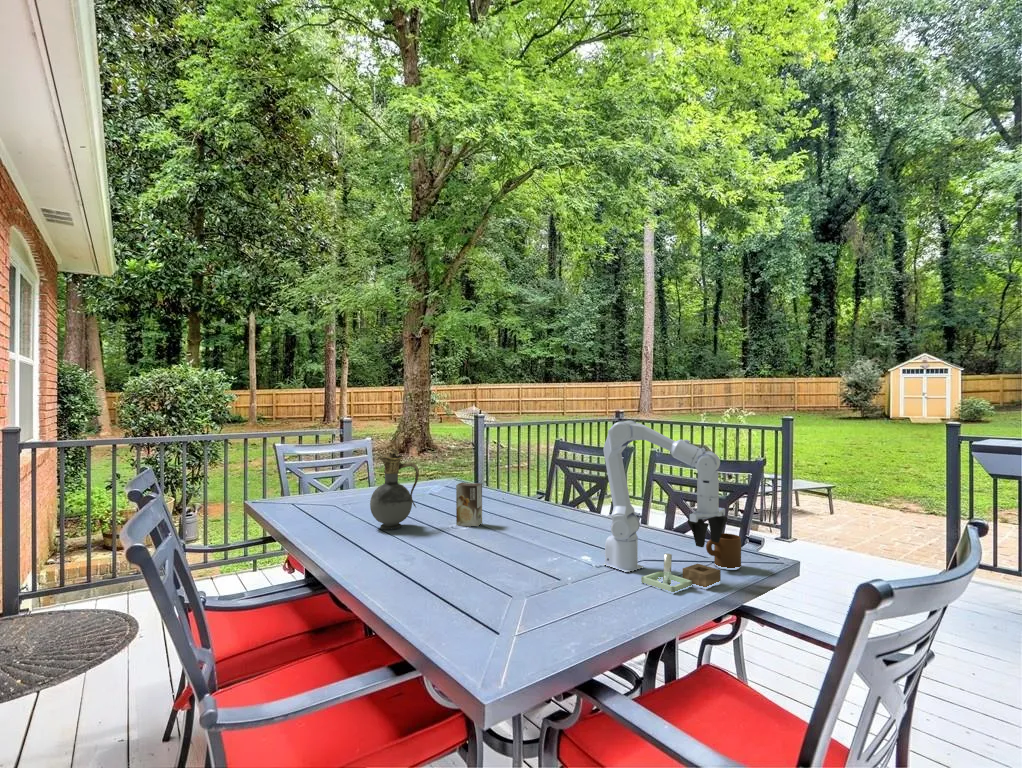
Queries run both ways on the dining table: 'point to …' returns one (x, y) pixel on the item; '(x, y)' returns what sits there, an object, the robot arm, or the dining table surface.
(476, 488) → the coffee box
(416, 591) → the dining table surface
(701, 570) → the walnut block
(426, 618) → the dining table surface
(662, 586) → the tray
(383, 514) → the pitcher
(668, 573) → the pin
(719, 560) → the mug
